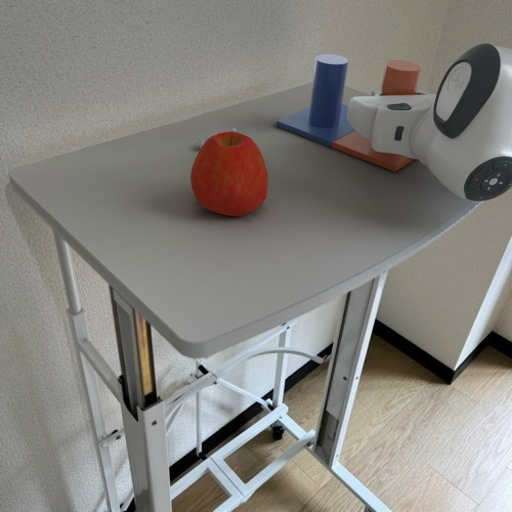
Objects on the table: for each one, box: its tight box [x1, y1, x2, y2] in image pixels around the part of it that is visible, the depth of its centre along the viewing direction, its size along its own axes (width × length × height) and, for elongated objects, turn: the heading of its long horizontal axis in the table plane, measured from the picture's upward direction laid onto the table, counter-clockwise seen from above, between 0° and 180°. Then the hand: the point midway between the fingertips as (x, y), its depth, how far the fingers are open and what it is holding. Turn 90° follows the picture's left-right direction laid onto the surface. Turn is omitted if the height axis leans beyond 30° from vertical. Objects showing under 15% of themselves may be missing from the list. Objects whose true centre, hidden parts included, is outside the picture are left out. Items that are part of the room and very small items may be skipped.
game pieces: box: [196, 127, 238, 150], centre depth 90 cm, size 8×2×2 cm, turn 128°
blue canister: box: [309, 53, 349, 128], centre depth 95 cm, size 6×6×11 cm
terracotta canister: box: [380, 59, 422, 96], centre depth 89 cm, size 6×6×11 cm
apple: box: [189, 130, 269, 217], centre depth 72 cm, size 10×10×10 cm
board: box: [276, 103, 414, 172], centre depth 97 cm, size 24×16×1 cm, turn 49°
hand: (394, 94), depth 90 cm, fingers closed on terracotta canister, 5 cm apart
